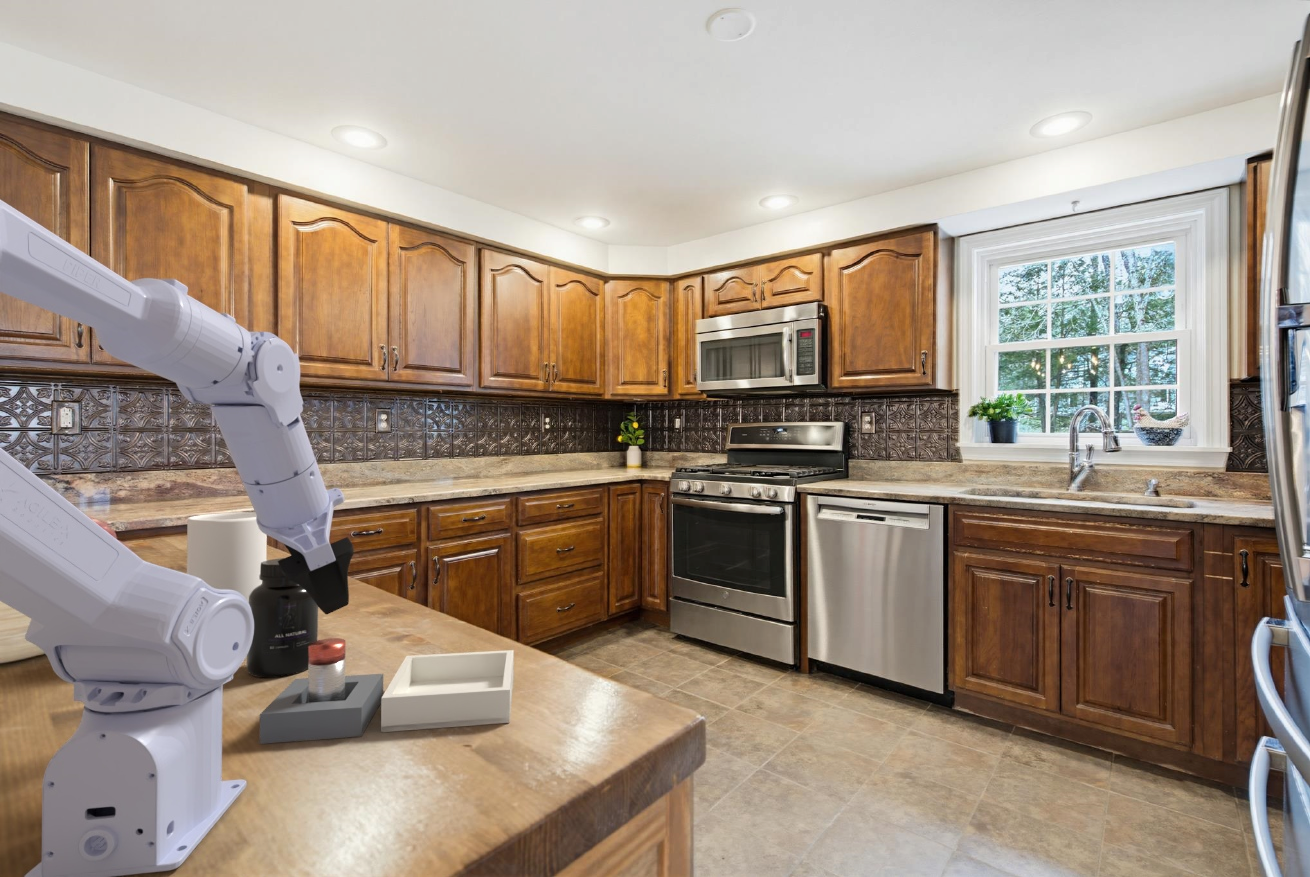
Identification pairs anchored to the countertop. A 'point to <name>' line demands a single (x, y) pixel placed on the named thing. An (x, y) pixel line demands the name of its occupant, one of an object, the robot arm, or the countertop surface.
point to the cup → (226, 550)
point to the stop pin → (326, 670)
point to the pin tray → (449, 691)
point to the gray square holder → (321, 712)
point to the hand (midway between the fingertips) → (324, 585)
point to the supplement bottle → (280, 624)
